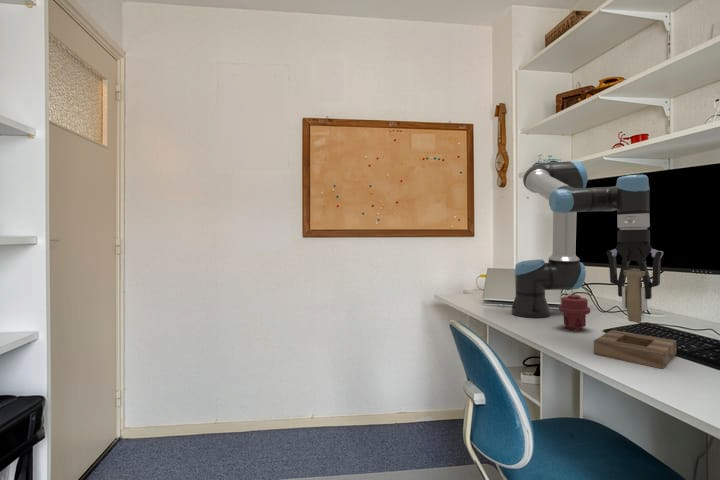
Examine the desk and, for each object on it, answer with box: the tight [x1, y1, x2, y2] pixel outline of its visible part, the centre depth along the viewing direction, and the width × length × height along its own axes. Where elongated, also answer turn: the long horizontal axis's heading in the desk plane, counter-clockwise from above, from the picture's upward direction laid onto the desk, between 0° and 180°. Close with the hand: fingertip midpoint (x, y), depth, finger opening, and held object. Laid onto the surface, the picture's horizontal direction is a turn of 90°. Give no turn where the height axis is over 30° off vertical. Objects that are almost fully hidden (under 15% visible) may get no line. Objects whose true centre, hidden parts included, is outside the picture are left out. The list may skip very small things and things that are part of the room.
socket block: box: [593, 329, 677, 370], centre depth 107 cm, size 16×16×4 cm
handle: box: [624, 268, 646, 323], centre depth 106 cm, size 5×6×15 cm
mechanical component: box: [558, 294, 591, 332], centre depth 134 cm, size 12×10×10 cm
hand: (634, 308), depth 106 cm, fingers closed on handle, 4 cm apart
